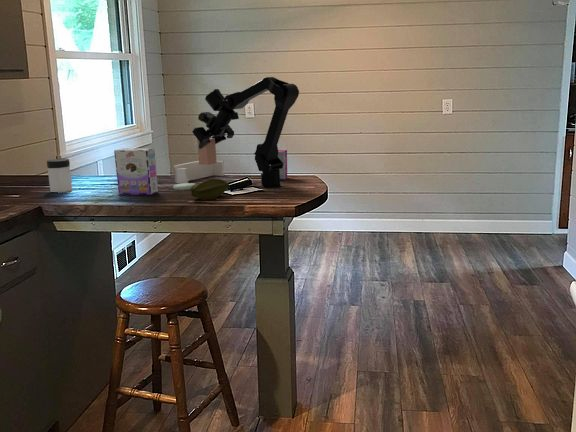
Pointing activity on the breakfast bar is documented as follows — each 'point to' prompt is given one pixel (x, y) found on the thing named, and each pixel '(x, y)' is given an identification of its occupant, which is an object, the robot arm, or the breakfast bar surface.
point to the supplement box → (283, 157)
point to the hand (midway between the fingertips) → (204, 147)
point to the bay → (197, 171)
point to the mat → (183, 186)
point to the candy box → (136, 171)
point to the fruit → (209, 189)
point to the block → (207, 153)
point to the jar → (59, 175)
